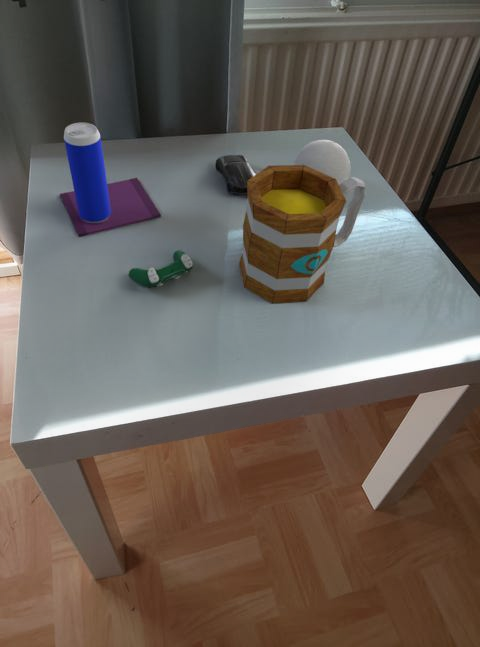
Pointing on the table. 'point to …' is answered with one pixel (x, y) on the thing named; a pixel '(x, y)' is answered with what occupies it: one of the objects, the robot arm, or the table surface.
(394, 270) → the table surface
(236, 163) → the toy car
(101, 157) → the beverage can
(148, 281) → the gaming controller
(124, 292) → the table surface
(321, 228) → the mug
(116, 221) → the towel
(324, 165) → the ball
